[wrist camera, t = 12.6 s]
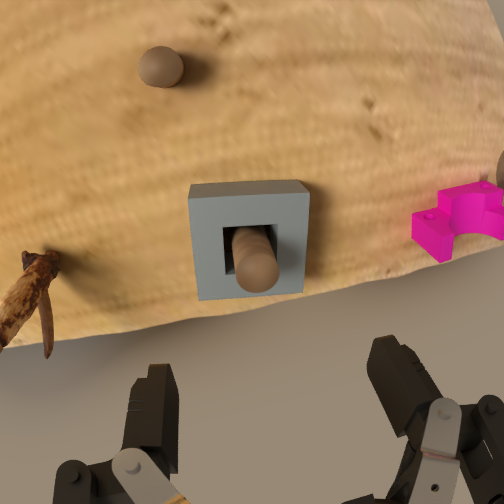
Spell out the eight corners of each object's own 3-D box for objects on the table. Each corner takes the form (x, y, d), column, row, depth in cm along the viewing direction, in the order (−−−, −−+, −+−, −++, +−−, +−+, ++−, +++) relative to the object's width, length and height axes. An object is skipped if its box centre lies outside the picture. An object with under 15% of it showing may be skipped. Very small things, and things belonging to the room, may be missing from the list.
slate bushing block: (297, 179, 36) (310, 192, 32) (293, 270, 42) (302, 292, 37) (190, 184, 35) (187, 198, 30) (199, 277, 40) (198, 300, 36)
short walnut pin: (184, 50, 28) (180, 43, 24) (185, 85, 30) (181, 84, 26) (146, 54, 27) (137, 49, 23) (147, 90, 29) (138, 89, 25)
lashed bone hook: (84, 291, 39) (38, 393, 24) (59, 298, 39) (11, 395, 24) (53, 231, 35) (-20, 321, 19) (28, 242, 35) (-43, 328, 19)
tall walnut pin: (263, 213, 37) (280, 253, 29) (263, 244, 39) (279, 291, 30) (229, 215, 37) (234, 257, 28) (230, 246, 39) (236, 294, 30)
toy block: (484, 180, 39) (517, 197, 32) (481, 216, 42) (511, 236, 35) (411, 196, 39) (443, 218, 32) (410, 237, 42) (439, 263, 35)
